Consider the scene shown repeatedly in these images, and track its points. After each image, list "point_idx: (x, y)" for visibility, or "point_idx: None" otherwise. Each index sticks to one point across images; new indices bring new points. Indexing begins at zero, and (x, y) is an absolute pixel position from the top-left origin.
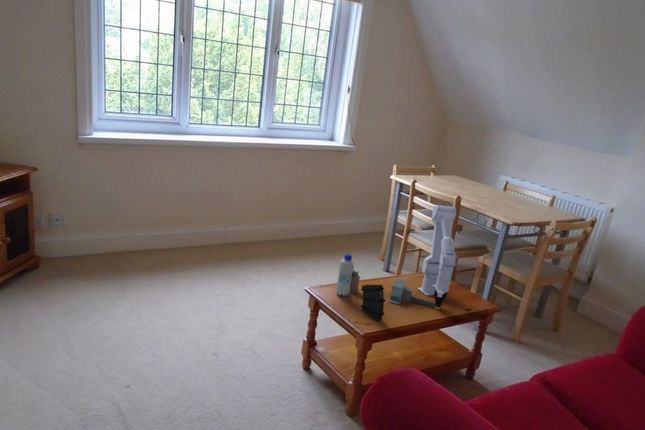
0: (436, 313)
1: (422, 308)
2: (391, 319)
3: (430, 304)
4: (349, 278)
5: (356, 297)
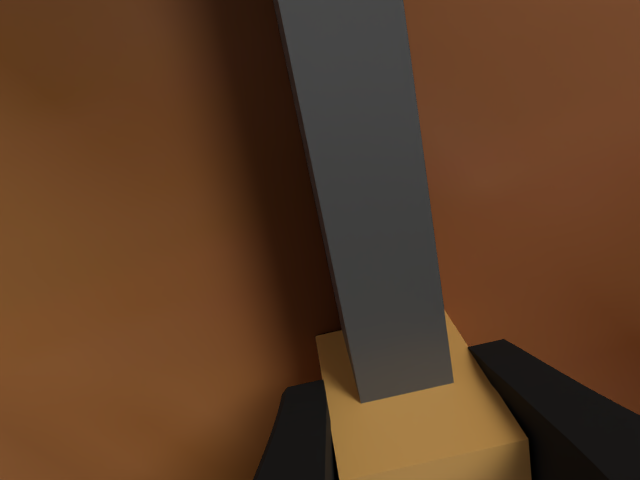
0: (90, 445)
1: (14, 84)
2: None
3: (323, 228)
4: None
5: None
